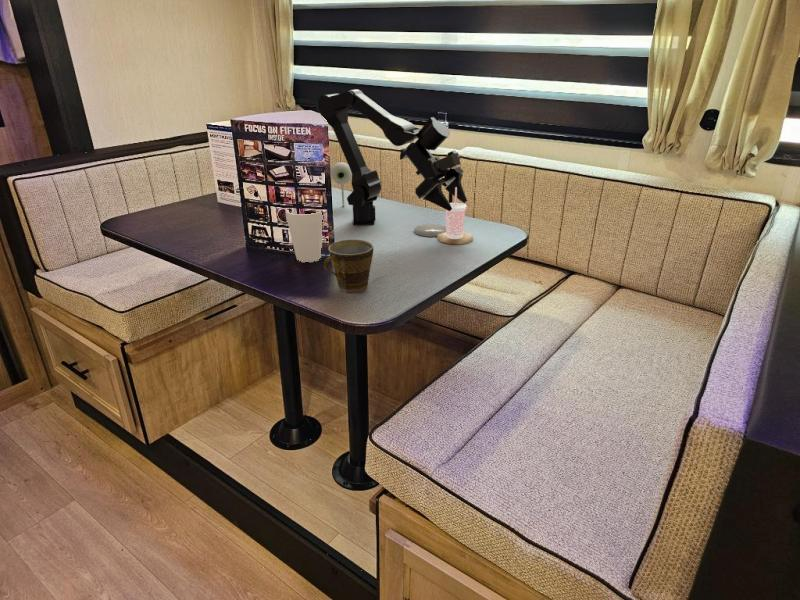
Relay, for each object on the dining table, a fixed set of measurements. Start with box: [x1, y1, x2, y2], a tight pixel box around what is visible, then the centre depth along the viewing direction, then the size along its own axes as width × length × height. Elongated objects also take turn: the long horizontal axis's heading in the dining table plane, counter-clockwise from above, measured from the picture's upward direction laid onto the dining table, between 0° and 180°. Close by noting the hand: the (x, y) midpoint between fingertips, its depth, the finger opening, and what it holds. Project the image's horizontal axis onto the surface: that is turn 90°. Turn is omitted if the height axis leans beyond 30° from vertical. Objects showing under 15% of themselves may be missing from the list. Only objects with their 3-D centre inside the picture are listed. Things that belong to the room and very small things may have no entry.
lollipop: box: [330, 161, 352, 207], centre depth 182 cm, size 7×7×15 cm
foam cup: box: [284, 209, 324, 263], centre depth 139 cm, size 10×9×13 cm
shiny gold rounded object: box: [436, 231, 473, 245], centre depth 154 cm, size 10×10×1 cm
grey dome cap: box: [413, 223, 446, 238], centre depth 160 cm, size 10×10×1 cm
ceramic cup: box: [323, 239, 375, 295], centre depth 121 cm, size 13×10×10 cm
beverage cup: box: [444, 187, 467, 239], centre depth 151 cm, size 6×6×14 cm
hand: (458, 205), depth 149 cm, fingers open, 9 cm apart
